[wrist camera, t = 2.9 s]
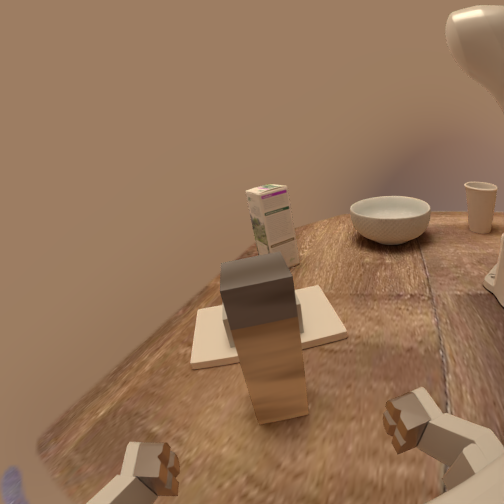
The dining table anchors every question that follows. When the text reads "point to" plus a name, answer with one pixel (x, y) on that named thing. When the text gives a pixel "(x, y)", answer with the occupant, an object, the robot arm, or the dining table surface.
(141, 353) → the dining table surface
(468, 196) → the dixie cup
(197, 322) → the caddy
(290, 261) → the syrup box
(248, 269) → the tool handle
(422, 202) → the cereal bowl
